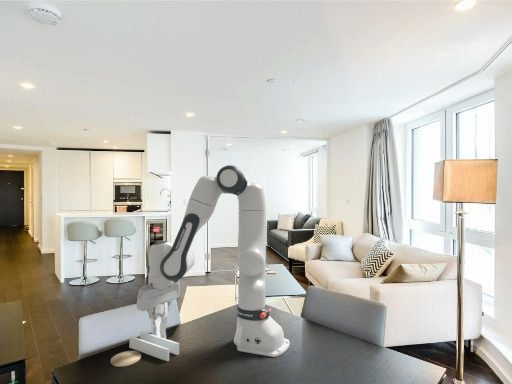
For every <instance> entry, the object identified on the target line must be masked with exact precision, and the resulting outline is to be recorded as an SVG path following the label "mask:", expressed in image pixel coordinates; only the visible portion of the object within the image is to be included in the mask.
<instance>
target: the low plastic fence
mask: <svg viewBox="0 0 512 384" xmlns="http://www.w3.org/2000/svg"><path fill="white" fill-rule="evenodd" d="M139 335H140V336H139V338H138V337H135V336H129V345H128V347H129V348H130V349H131V350H132V349H133V350H134V351H137V352H139V353H144V354H146V355H148V356H152V357H154V358H157V359H159V360H162V361H166V362H169V361H170V354H174V355H176V356H179V355H180V342H176V341H174V340H171V339H167V338H166V339H165V338H162V337H158V336H155V335H152V333H148V332H145V331H143V330H142V331H140V333H139Z"/></svg>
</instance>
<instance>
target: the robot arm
mask: <svg viewBox="0 0 512 384" xmlns="http://www.w3.org/2000/svg"><path fill="white" fill-rule="evenodd" d="M223 194H231V195H235V196H236V197H237V201H238V233H237V237H238V238H237V265H238V268H239V269H238V270H239V272H238V286H237V287H238V288H237V292H238V296H237V306H236V316H237V321H236V322H237V323H236V329H235V330H236V331H235V334H234V339H233V344H235V346H236V349H237V351H238V352H243V353H249V354H253V355H261V356H266V357H272V358H277V357H280V356H281V355H283V354H284V353H286V352H287V351H288V349H289V348H290V346H291V345H290V344H291V343H290V339H288V338H285V333H284V330H283V327H282V326H281V325H280V324H279V323H277V321H276V320H274V318H272V316H270V312H272V308H271V307H270V308H269V309H268V306H267V304H266V285H267V284H266V269H267V268H266V264H267V248H266V246H267V244H266V242H267V241H266V240H267V237H266V233H267V231H266V229H267V228H266V211H267V210H266V199H265V192H264V188H263V186H261V185H260V184H258V183H255V182H249V181H248V180H247V178H246V176H245V173H244V171H242V170H241V169H240V168H239V167H238V166H235V165H232V164H228V165H225V166H223V167H221V168H220V169H219V170H218V171H217V174H216V176H215V177H214V176H211V175H203V176H201V177H199V179H198V180H197V182H196V183H195V186H194V187H193V189H192V191H191V194H190V196H189V199H188V203H187V206H186V209H185V212H184V216H183V218H182V219H183V220H182V223H181V225H180V227H179V230H178V232H177V235H176V236H175V239H174V241H173V243H172V242H171V241H168V240H163V241H158V242H154V243H153V244H152V245H151V246H150V247H149V254H148V266H149V271H148V278H147V279H148V283H147V284H146V285H142V286H141V287H140V288H139V289H138V292H137V293H138V295H137V299H136V300H137V301H136V309H137V310H138V311H140V312H145V311H146V312H147V314H148V319H150V320H151V319H152V318H154V314H153V313H152V310H153V307H156V306H157V305H158V304H163V303H166V302H167V301H168V313H169V312H170V308H171V307H170V306H171V305H172V301H173V300H177V299H178V298H179V297H180V294H181V284H180V281H181V280H182V278H183V277H184V276H185V275H186V274H187V273H188V272H189V270H191V269H192V268H193V266H194V264H195V255H194V253H193V252H192V251H191V250H190V249H191V246H192V244H193V241H194V239H195V236H196V235H197V233H198V232H199V231H200V229H201V228H203V226H205V225H206V224H207V223H208V222H209V220H210V219H211V217H212V216H213V214H214V211H215V209H216V206H217V204H218V201H219V198H220V197H221V195H223Z"/></svg>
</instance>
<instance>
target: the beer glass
mask: <svg viewBox="0 0 512 384" xmlns="http://www.w3.org/2000/svg"><path fill="white" fill-rule="evenodd" d="M152 313H153V314H154V318H152V319H150V324H151V325H150V326H151V334H152V335H155V336H158V337H162V338H165V339H167V329H166V328H167V322H168V317H169V316H168V315H169V312H168V301H167V302H166V303H163V304H158V305H157V306H156V307H153V310H152Z"/></svg>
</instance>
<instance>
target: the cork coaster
mask: <svg viewBox="0 0 512 384" xmlns="http://www.w3.org/2000/svg"><path fill="white" fill-rule="evenodd" d="M141 359H142V352H140V351H137V350H127V351H122V352H119V353H117V354H114V356H112V357H111V359H110V364H111V365H112V366H113V367H117V368H119V367H120V368H121V367H128V366H131V365H134V364H137V363H138V362H139V361H140V360H141Z"/></svg>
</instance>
